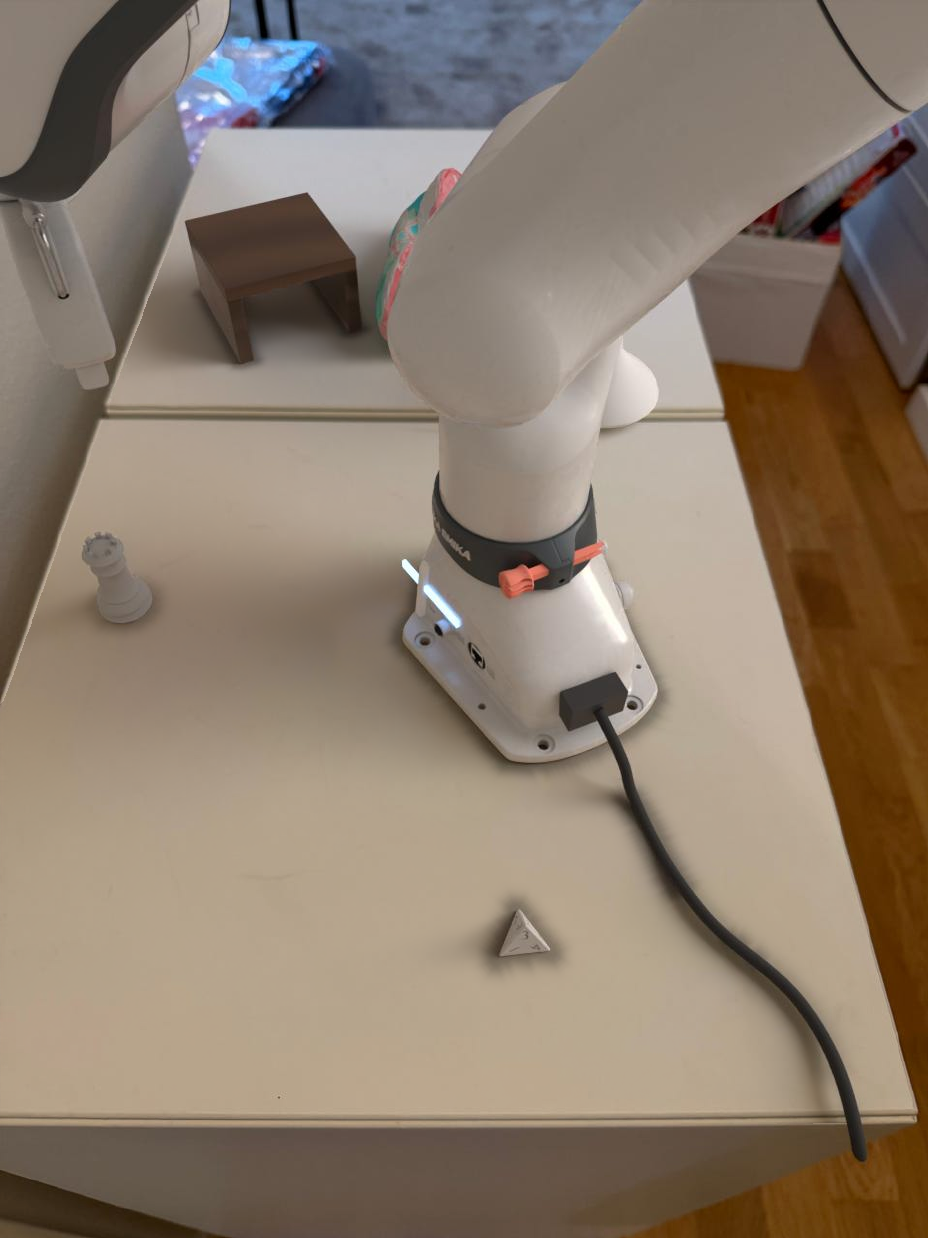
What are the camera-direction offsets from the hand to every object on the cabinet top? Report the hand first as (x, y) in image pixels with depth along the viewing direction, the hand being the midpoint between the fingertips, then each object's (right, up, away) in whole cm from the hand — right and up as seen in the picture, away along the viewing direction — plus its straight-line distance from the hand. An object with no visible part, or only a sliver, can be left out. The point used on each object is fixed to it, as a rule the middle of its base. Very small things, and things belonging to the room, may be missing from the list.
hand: (80, 339), depth 62 cm
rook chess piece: (-3, -18, +16) cm, 25 cm away
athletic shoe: (+22, +19, +44) cm, 53 cm away
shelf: (+5, +16, +42) cm, 45 cm away
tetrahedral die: (+30, -41, 0) cm, 51 cm away
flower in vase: (+40, +4, +34) cm, 53 cm away
